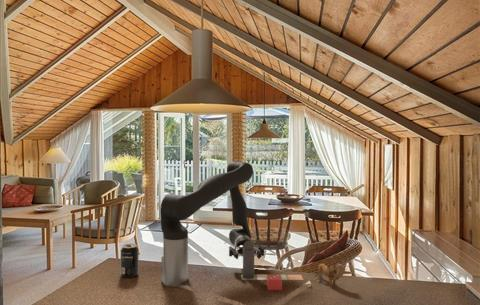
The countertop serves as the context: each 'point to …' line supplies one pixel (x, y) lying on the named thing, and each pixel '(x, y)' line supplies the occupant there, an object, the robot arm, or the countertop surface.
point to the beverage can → (129, 260)
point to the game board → (284, 277)
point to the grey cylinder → (248, 260)
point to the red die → (274, 282)
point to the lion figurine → (330, 273)
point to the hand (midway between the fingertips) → (248, 256)
